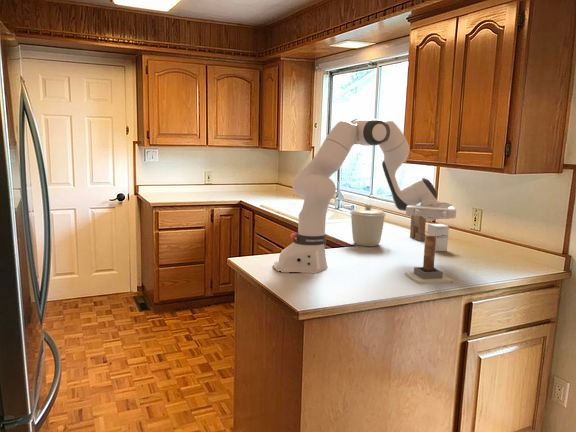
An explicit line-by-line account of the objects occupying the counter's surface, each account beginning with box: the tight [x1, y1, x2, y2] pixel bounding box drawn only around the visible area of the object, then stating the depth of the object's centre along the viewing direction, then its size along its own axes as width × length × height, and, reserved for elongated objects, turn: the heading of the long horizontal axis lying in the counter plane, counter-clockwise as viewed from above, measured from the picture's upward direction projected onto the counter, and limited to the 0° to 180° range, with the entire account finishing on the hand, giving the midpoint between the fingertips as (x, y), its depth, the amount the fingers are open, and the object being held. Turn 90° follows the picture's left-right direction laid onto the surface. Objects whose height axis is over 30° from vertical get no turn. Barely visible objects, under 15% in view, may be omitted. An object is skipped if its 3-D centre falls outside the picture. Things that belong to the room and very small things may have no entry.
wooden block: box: [409, 215, 427, 242], centre depth 263 cm, size 4×11×18 cm, turn 16°
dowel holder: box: [404, 266, 453, 285], centre depth 190 cm, size 14×12×4 cm
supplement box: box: [426, 223, 450, 252], centre depth 239 cm, size 7×7×13 cm
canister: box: [349, 203, 387, 247], centre depth 247 cm, size 18×18×21 cm
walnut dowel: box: [422, 234, 436, 272], centre depth 189 cm, size 4×4×16 cm
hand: (430, 214), depth 198 cm, fingers open, 8 cm apart
